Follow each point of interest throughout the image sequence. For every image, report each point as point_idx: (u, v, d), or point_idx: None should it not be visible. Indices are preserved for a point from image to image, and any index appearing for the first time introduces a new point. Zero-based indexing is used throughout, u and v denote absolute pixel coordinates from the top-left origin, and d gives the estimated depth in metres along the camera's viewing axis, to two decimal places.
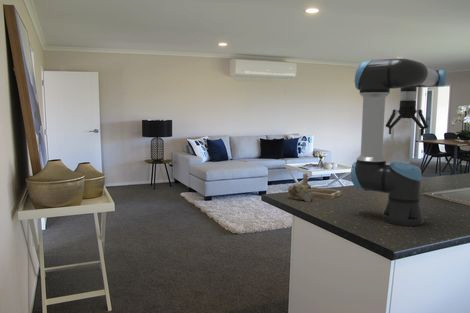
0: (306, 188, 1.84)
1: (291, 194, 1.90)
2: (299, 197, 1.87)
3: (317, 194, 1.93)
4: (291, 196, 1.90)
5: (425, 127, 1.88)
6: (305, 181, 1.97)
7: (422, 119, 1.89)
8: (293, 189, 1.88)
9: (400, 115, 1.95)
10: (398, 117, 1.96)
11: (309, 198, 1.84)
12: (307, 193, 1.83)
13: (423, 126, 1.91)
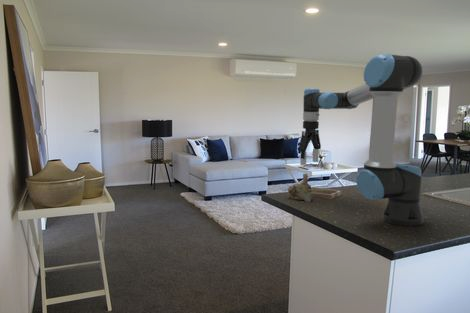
0: (306, 188, 1.84)
1: (291, 194, 1.90)
2: (299, 197, 1.87)
3: (317, 194, 1.93)
4: (291, 196, 1.90)
5: (298, 149, 1.81)
6: (305, 181, 1.97)
7: None
8: (293, 189, 1.88)
9: None
10: None
11: (309, 198, 1.84)
12: (307, 193, 1.83)
13: (304, 149, 1.80)
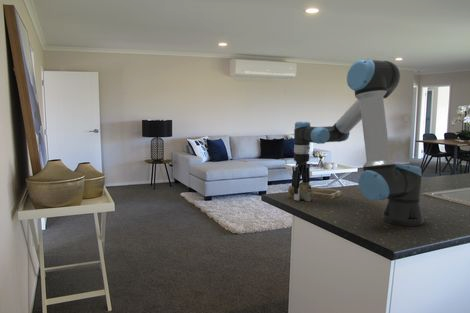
0: (306, 188, 1.84)
1: (291, 194, 1.90)
2: None
3: (317, 194, 1.93)
4: (291, 196, 1.90)
5: (292, 185, 1.84)
6: None
7: None
8: (293, 189, 1.88)
9: None
10: None
11: (309, 198, 1.84)
12: (307, 193, 1.83)
13: (297, 185, 1.84)
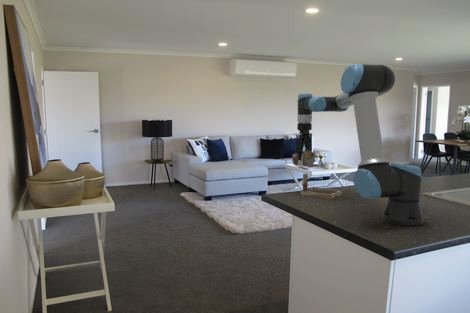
0: (309, 154, 1.99)
1: (295, 161, 2.04)
2: None
3: (317, 194, 1.93)
4: (295, 163, 2.05)
5: (296, 152, 1.99)
6: (305, 181, 1.97)
7: None
8: (297, 156, 2.03)
9: None
10: None
11: (312, 164, 1.98)
12: (310, 159, 1.98)
13: (301, 152, 1.99)
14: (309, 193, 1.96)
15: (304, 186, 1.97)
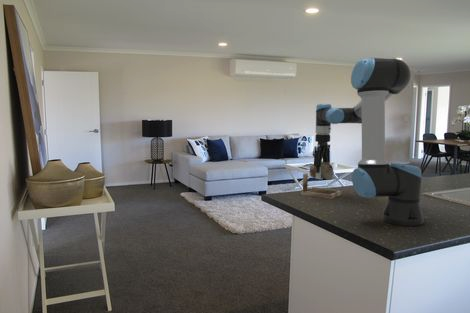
0: (327, 167, 1.93)
1: (312, 174, 1.98)
2: None
3: (317, 194, 1.93)
4: (312, 175, 1.98)
5: (314, 164, 1.93)
6: (305, 181, 1.97)
7: None
8: (315, 168, 1.97)
9: None
10: None
11: (330, 176, 1.92)
12: (328, 172, 1.92)
13: (319, 164, 1.92)
14: (309, 193, 1.96)
15: (304, 186, 1.97)
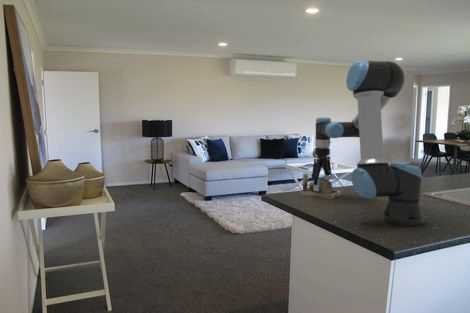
0: (327, 184, 1.94)
1: (311, 190, 1.99)
2: None
3: (317, 194, 1.93)
4: None
5: (312, 176, 1.92)
6: (305, 181, 1.97)
7: None
8: None
9: None
10: None
11: None
12: (328, 189, 1.93)
13: (317, 176, 1.92)
14: (309, 193, 1.96)
15: (304, 186, 1.97)
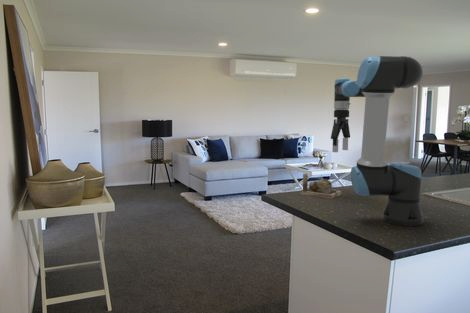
0: (327, 184, 1.94)
1: (311, 190, 1.99)
2: None
3: (317, 194, 1.93)
4: None
5: (331, 137, 1.87)
6: (305, 181, 1.97)
7: None
8: (314, 185, 1.98)
9: None
10: None
11: None
12: (328, 189, 1.93)
13: (336, 136, 1.87)
14: (309, 193, 1.96)
15: (304, 186, 1.97)
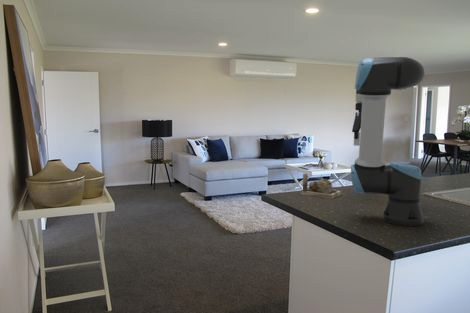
0: (327, 184, 1.94)
1: (311, 190, 1.99)
2: None
3: (317, 194, 1.93)
4: None
5: None
6: (305, 181, 1.97)
7: None
8: (314, 185, 1.98)
9: None
10: None
11: None
12: (328, 189, 1.93)
13: (358, 129, 1.86)
14: (309, 193, 1.96)
15: (304, 186, 1.97)
